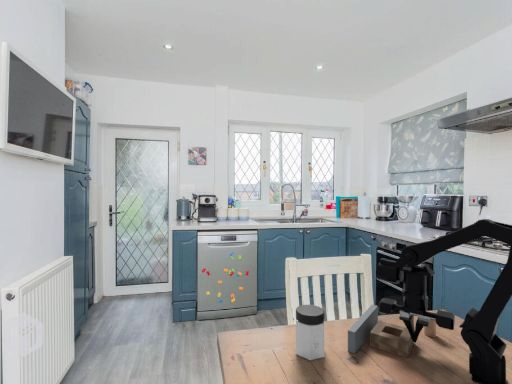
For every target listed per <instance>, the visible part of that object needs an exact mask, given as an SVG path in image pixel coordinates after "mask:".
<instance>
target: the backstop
mask: <svg viewBox="0 0 512 384" xmlns="http://www.w3.org/2000/svg"><path fill="white" fill-rule="evenodd" d="M378 321H379V311H378V305H375V304H371V305H370V306H369V307H368V308H367V309H366V310H365V311H364V312H363V313H362V314H361V316H359V318H358V319H357V320H356V321H355V322H354V323H353V324H352V325H351V326H350V327H349V328H348V329H347V352H349V353H353V354H356V353H357V351H359V349H360V348H361V347H362V345H363V344H364V342H365V341H366V339H367V338H368V337H369V336H370V332H371V331H372V329H373V328H374V327H375V325H376V324H377V323H378Z"/></svg>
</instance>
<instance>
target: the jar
mask: <svg viewBox="0 0 512 384" xmlns="http://www.w3.org/2000/svg"><path fill="white" fill-rule="evenodd" d="M325 316H326V315H325V310H324V308H322V307H321V306H317V305H315V304H314V305H313V304H301V305H299V306H297V307H296V308H295V355H297V356H299V357H302V358H305V360H308V361H314V360H317V359H322V358H325Z"/></svg>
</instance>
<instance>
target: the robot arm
mask: <svg viewBox="0 0 512 384" xmlns="http://www.w3.org/2000/svg"><path fill="white" fill-rule="evenodd" d="M483 237H487V238H490V239H493V240H495V241H498V242H500V243H503V244H506V245H509V246H510V247H509V250H508V251H509V252H508V256H507V260H506V263H505V265H504V266H503V268H502V270H501V272H500V273H499V276H498V277H497V279H496V280H495V282H494V283H493V286H492V288H491V290H490V291H489V293H488V295H487V296H486V299H485V300H484V302H483V303H482V306H481V307H480V309H478V310H477V309H476V308H474V307H472V308H470V309H469V311H467V313H466V314H465V317H464V320H463V321H462V323H461V324H460V325H459V326H458V327H459V328H461V331H460V336H461V338H462V341H463V342H464V343H465V344H466V345H467V346H468V348H469V351H470V352H469V354H468V361H469V362H468V366H469V367H468V368H469V369H468V370H469V371H468V372H469V374H470V375H471V381H472V382H475V383H477V384H507V359H506V356H505V355H504V353H505V351H506V349H507V346H508V345H507V344H506V342H505V341H503V339H502V338H501V337H499V335H498V334H497V329H498V326H499V321H500V318H501V315H502V313H503V311H504V310H505V308H506V306H507V304H508V303H509V301H510V300H511V298H512V224H508V223H503V222H498V221H494V220H492V219H489V218H484V219H479V220H477V221H475V222H474V223H472V224H469V225H467V226H464V227H461V228H460V229H458V230H454V231H451V232H450V233H447V234H445V235H442V236H440V237H437V238H435V239H432V240H426V241H422V242H417V243H413V244H410V245H406V246H404V247H402V249H401V251H400V256H399V258H397V260H392V259H391V260H390V259H388V258H383V257H382V258H380V259H379V261H378V264H377V267H376V270H375V276H376V279H377V280H379V281H382V282H386V283H392V284H395V285H399V284H400V282H401V283H402V282H403V287H402V290H401V299H403V305H402V304H401V305H400V304H397V300H396V299H392V298H387V297H384V298H382V299H381V300H380V301H379V303H378V305H377V306H378V313H382V314H386V315H390V314H392V313H393V311H394V312H399V317H398V318H399V320H401V321H402V322H403V324H404V325H405V326H404V327H406V328H407V329H408V331H409V334H410V336H411V338H412V341H413V342H414V343H415V344H416V343H417V341H418V339H419V336H420V333H421V331H422V330H423V328H424V326H426V327H428V326H429V323H430V319H431V320H435V321H436V326H437V327H439V328H441V329H442V328H443V329H446V330H449V331H454V330H455V325H456V323H455V322H456V316H455V315H456V314H454V313H453V312H451V311H446V310H442V309H437V312H434V313H432V312H433V311H431V312H428V311H429V310H428V309H429V296H428V295H427V277H430V278H431V277H432V276H434V275H436V273H435V271H434V270H433V269H431V268H430V265H426V266H424V267H420V266H419V265H422V264H423V263H425V262H428V261H429V260H431V259H433V258H434V257H436V256H437V255H439V254H440V253H442V252H445V251H448V250H451V249H453V248H456V247H459V246H461V245H464V244H467V243H469V242H473V241H475V240H477V239H480V238H483ZM407 266H409V267H407ZM414 316H416V317H417V319H416V321H414V319H415V317H414Z"/></svg>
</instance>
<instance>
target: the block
mask: <svg viewBox="0 0 512 384" xmlns="http://www.w3.org/2000/svg"><path fill="white" fill-rule="evenodd" d="M414 343H415V342H413V341H412V338H411V336H410V334H409V331H408V329H407V327H406V326H401V325H397V324H393V323H390V322H386V321H382V320H378V323H377V324H376V325H375V327H374V328H373V329H372V331H371V332H370V334H369V346H370V347H373V348H376V349H379V350H383V351H385V352H389V353H391V354H395V355H398V356H400V357H403V358H406V359H408V358H409V356H410V353H411V352H412V351H411V350H412V348H413V346H414Z"/></svg>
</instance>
